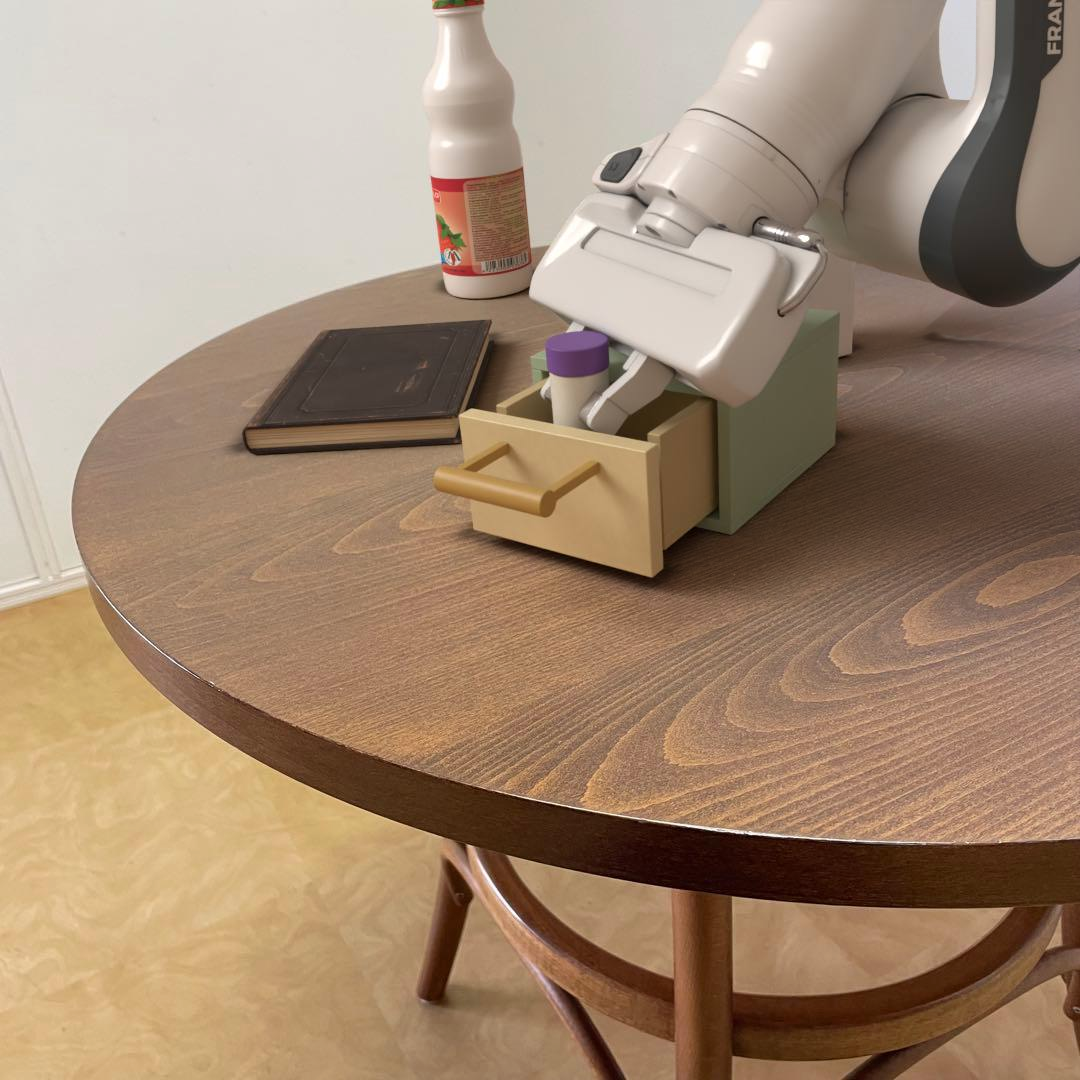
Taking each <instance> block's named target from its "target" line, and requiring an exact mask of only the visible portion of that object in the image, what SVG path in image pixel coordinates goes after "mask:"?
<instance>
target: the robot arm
mask: <svg viewBox="0 0 1080 1080" xmlns="http://www.w3.org/2000/svg"><path fill="white" fill-rule="evenodd" d="M947 1H948V0H762V2H761V3H760V4H759V6H758V7H757V8H756V10H755V11H754V13H752V15H751V16H750V18H749V19H748V20H747V22H746V23H745V25H744V26H743V28H742V29H741V31H740V32H739V33H738V35H737V37H736V38H735V39H734V40H733V43H731V45H730V48H729V49H728V51H727V54H726V57H725V61H724V63H723V67H722V68H721V71H720V73H719V75H718V76H717V78H716V79H715V81H714V82H713V84H712V85H711V87H709V88H708V89H707V91H705V92H704V93H703V94H702V95H701V96H700V97H698V98H697V99H696V100H695V101H694V102H692V103H691V104H690V105H689V107H688V108H687V109H686V111H685V112H684V113H683V114H682V116H681V118H680V119H679V120H678V122H677V123H676V125H675V127H674V128H673V129H672V130H671V132H662V133H661V134H659V135H656V136H655V137H653V138H651V139H650V140H648V141H646V142H643V143H640V144H638V145H635V146H631V147H627V148H624V149H620V150H616V151H613V152H610V153H609V154H607V155H606V156H605V157H604V158H603V159H602V161H600V163H599V165H598V166H597V168H596V169H595V171H594V173H593V174H592V176H591V182H592V183H593V185H594V186H595V187H596V188H597V189H598V190H599V191H596V192H592V193H591V194H590V195H588V196H586V197H585V198H584V199H583V200H581V202H580V203H579V204H578V205H577V206H576V208H575V209H574V210H573V211H572V213H571V214H570V215H569V216H568V218H567V219H566V221H565V222H564V223H563V225H562V227H561V228H560V230H559V232H558V233H557V234H556V235H555V238H554V239H553V240H552V242H551V243H550V245H549V247H548V248H547V250H546V251H545V253H544V255H543V256H542V258H541V260H540V261H539V263H538V265H537V266H536V268H535V269H534V271H533V277H532V281H531V285H530V286H529V291H528V297H529V299H530V300H531V301H532V302H533V303H534V304H535V305H536V306H538V307H539V308H540V309H541V310H542V311H544V312H545V313H546V314H547V315H549V316H550V317H552V319H554V320H555V321H556V322H558V323H559V324H561V325H562V326H564V327H566V328H567V330H566V331H565V333H567V332H575V331H591V332H598V333H601V334H604V335H606V336H607V338H608V344H609V348H611V349H613V350H615V351H618V352H620V353H622V354H624V355H626V356H628V357H629V358H628V359H627V361H626V362H625V364H624V365H623V369H624V370H625V371H626V373H625V374H624V375H622V376H621V377H620V378H619V379H618V380H617V381H616V382H615V383H613V384H612V385H611V386H610V387H609V388H608V389H607V390H606V391H604V392H603V393H602V395H601V394H599V393H597V392H595V391H594V392H593V394H592V395H591V396H590V398H589V399H588V400H587V403H586V405H585V406H584V407H583V408H582V409H581V410H580V412H579V415H578V417H579V421H580V422H582V423H583V424H584V425H586V426H587V427H588V428H590V429H591V430H592V431H594V432H598V433H603V434H609V435H615V434H616V432H617V431H618V430H619V428H620V427H621V425H622V424H623V423H624V421H625V420H626V418H627V417H628V416H629V415H631V414H633V413H634V412H636V411H637V410H639V409H641V408H642V407H644V406H645V405H647V404H648V403H650V402H651V401H653V400H654V399H656V398H657V397H659V396H660V395H661V394H662V392H663V391H664V389H665V388H666V386H667V385H668V384H669V382H670V381H671V379H672V378H673V379H675V380H677V381H679V382H681V383H683V384H685V385H687V386H689V387H691V388H693V389H695V390H697V391H699V392H701V393H703V394H705V395H708V396H710V397H712V398H714V399H716V400H718V401H720V402H722V403H724V404H726V405H728V406H730V407H733V408H738V407H740V406H742V405H744V404H745V403H747V402H749V401H751V400H752V399H754V398H755V397H757V396H758V395H759V394H760V393H761V392H762V390H763V389H764V387H765V386H766V384H767V383H768V381H769V380H770V378H771V377H772V375H773V373H774V372H775V370H776V369H777V367H778V365H779V364H780V362H781V360H782V359H783V357H784V355H785V353H786V352H787V350H788V348H789V346H790V345H791V343H792V341H793V339H794V338H795V336H796V334H797V332H798V330H799V328H800V326H801V324H802V323H803V320H804V318H805V316H806V314H807V312H808V309H809V307H810V303H811V300H812V292H813V291H814V290H815V288H816V287H817V285H818V284H819V283H820V281H821V280H822V278H823V277H824V275H825V273H826V271H827V269H828V262H827V259H828V252H830V253H832V254H834V255H835V256H837V257H840V258H843V259H846V260H849V261H853V262H856V263H857V264H861V265H864V266H869V267H872V268H875V269H877V270H879V271H881V272H885V273H890V274H892V275H897V276H901V277H905V278H908V279H913V280H917V281H921V282H924V283H925V282H926V283H929V284H932V285H935V286H936V287H938V288H940V289H942V290H945V291H948V292H950V293H953V294H955V295H958V296H960V297H963V298H965V299H967V300H970V301H973V302H975V303H978V304H980V305H983V306H985V307H991V308H1008V307H1009V308H1010V307H1013V306H1018V305H1020V304H1023V303H1025V302H1028V301H1030V300H1031V299H1034V298H1036V297H1038V296H1039V295H1041V294H1043V293H1045V292H1046V291H1048V290H1049V289H1051V288H1052V287H1054V286H1056V285H1057V284H1058V283H1059V282H1061V281H1063V280H1064V279H1065V278H1066V277H1067V276H1069V274H1071V273H1072V272H1073V271H1074V270H1075V269H1076V268H1077V267H1078V266H1079V265H1080V0H975V2H976V3H975V5H976V7H975V9H976V12H975V14H976V15H975V16H976V17H975V78H974V79H975V81H974V88H973V91H972V94H971V96H970V99H956V98H950V95H949V94H948V91H947V88H946V85H945V81H944V76H943V71H942V63H941V57H940V28H941V27H940V26H941V24H940V23H941V20H942V16H943V13H944V10H945V7H946V4H947ZM827 251H828V252H827ZM818 252H819V253H818ZM540 393H541V397H542V398H543V399H544V400H546V401H547V402H548V403H550V404H551V405H552V398H551V387H550V377H549V379H548V380H547V381H546V383H545V384H544V386H543V387H542V389H541V392H540Z"/></svg>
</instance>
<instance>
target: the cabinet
mask: <svg viewBox="0 0 1080 1080" xmlns="http://www.w3.org/2000/svg"><path fill="white" fill-rule="evenodd" d="M839 324H840V312H836V311H826V310H816V309H808V312H807V314H806V316H805V318H804V320H803V323H802V324H801V326H800V328H799V330H798V332H797V334H796V336H795V338H794V339H793V341H792V343H791V345H790V346H789V348H788V350H787V352H786V353H785V355H784V357H783V359H782V360H781V362H780V364H779V365H778V367H777V369H776V370H775V372H774V373H773V375H772V377H771V378H770V380H769V381H768V383H767V384H766V386H765V387H764V389H763V390H762V392H761V393H760V394H759V395H758V396H757V397H755V398H754V399H752V400H751V401H749V402H747V403H745V404H744V405H742V406H740V407H738V408H733V407H730V406H728V405H726V404H724V403H722V402H720V401H718V400H717V404H718V464H719V506H718V507H717V508H716V509H714V510H713V511H712V512H711V513H709V514H708V515H707V516H706V517H705V518H703V519H702V520H701V521H700V522H698V523H697V524H696V525H695V526H694V527H696V528H699V529H704V530H708V531H712V532H717V533H721V534H724V535H729V536H732V535H733V534H735V533H736V532H737V531H738V530H739V529H741V527H743V526H744V525H746V523H747V522H748V521H750V520H751V519H752V518H753V517H754V516H756V514H757V513H759V512H760V511H761V510H762V509H763V508H764V507H766V506H767V505H768V504H769V503H770V502H771V501H772V500H774V499H775V498H776V497H777V496H778V495H779V494H781V493H782V492H783V491H784V490H785V489H786V488H787V487H788V486H790V485H791V484H792V483H793V482H795V480H797V479H798V478H799V477H800V476H801V475H802V474H803V473H805V472H806V471H807V470H808V469H809V468H810V467H811V466H813V465H814V464H815V463H816V462H817V461H818V460H819V459H821V458H822V457H823V456H824V455H825V454H826V453H827V452H829V451H830V450H831V449H832V448H833V447H835V445H836V432H837V409H838V408H837V406H838V381H839V379H838V377H839V357H838V353H839ZM529 358H530V368H531V377H532V386H533V385H535V384H537V383H538V382H540V381H542V380H544V379H546V378H548V377H549V376H550V375H549V371H548V369H547V361H546V350H545V348H544V349H542V350H540V351H538V352H537V353H534V354H532V355H531V356H530V357H529ZM628 358H629V357H628V356H626V355H624V354H622V353H620V352H618V351H615V350H613V349H611V348H609V361H610V364H609V367H608V375H609V381H612V382H616V381H617V380H618V379H619V378H620V377H621V376H622V375H624V374H625V373H626V371H625V370H624V369H623V365H624V364H625V362H626V361H627V359H628ZM664 390H668V391H674V392H681V393H687V394H693V395H700V396H706V397H710V396H708V395H705V394H703V393H701V392H699V391H697V390H695V389H693V388H691V387H689V386H687V385H685V384H683V383H681V382H679V381H677V380H675V379H673V378H672V379H671V381H670V382H669V384H668V385H667V386H666V388H665V389H664Z"/></svg>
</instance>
